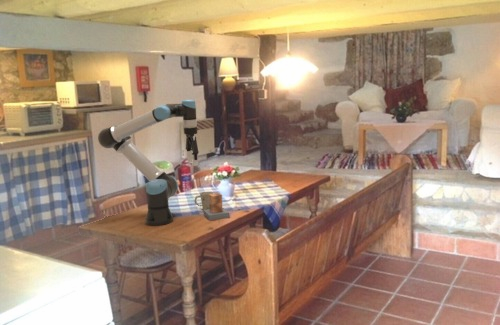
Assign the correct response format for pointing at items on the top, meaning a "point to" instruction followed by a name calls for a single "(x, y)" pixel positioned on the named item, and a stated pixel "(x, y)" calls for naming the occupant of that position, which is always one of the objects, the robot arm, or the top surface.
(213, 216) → the base
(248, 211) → the top surface
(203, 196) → the mug
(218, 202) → the block
